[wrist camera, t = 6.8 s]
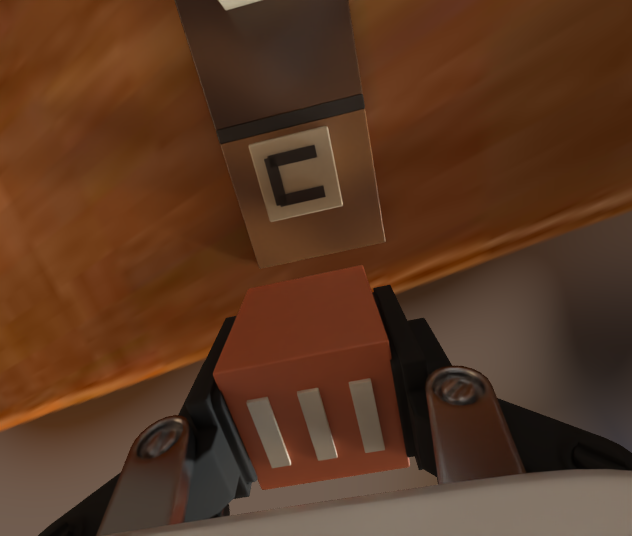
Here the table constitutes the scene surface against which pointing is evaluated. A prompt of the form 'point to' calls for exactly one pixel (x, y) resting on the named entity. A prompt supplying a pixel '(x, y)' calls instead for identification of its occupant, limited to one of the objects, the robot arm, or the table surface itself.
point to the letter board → (287, 112)
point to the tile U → (297, 173)
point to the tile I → (235, 3)
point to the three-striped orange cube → (312, 381)
